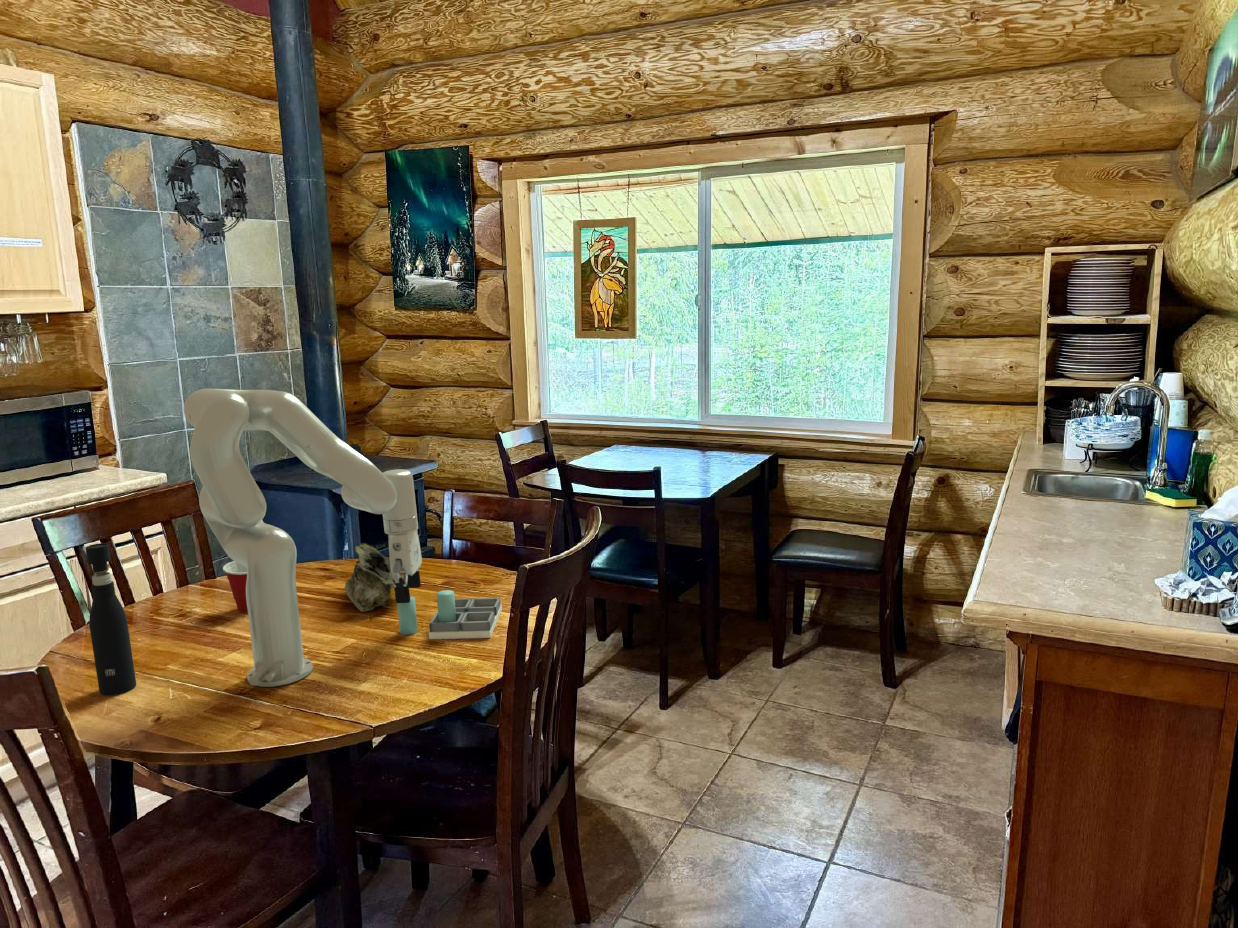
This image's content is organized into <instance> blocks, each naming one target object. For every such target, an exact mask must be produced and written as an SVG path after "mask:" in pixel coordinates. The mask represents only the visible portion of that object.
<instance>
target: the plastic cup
mask: <svg viewBox="0 0 1238 928" xmlns="http://www.w3.org/2000/svg"><path fill="white" fill-rule="evenodd" d="M222 570H223V572H224V573H225V575H226V577H227V580H228V584H229V587H230V589H231V592H232V596H233V599H234V600H235V601H234V602H235V605H236V608H237V610H238V612H239V613H244V614H245V613H247V614H248V608H247V601H246V581H247V568H246V567H245V566H243V565H241V564H239V563H237V562H235V561H234V560H232V561H230V562H227V563H226V564H225V565H223V567H222Z"/></svg>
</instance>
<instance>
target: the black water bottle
mask: <svg viewBox="0 0 1238 928" xmlns="http://www.w3.org/2000/svg"><path fill="white" fill-rule="evenodd" d="M85 555H86V562H87V564H88V565H91V567H92V573H93V574H92V575H91V576H92V577H91V580H92V581H91V582H92V585H91V592H92V598H93V599H92V602H91V606H90V610H89V620H88V621H89V622H88V623H89V624H88V626H89V633H90V639H91V645H92V653H93V659H94V665H95V671H96V678H97V686H98V690H99V691H98V692H99V694H100V695H102V696H106V697H109V696H117V695H122V694H124V693H128V692H130V691H132V690H133V689H135V687H136V686H137V680H136V673H135V666H134V659H133V652H132V651H133V650H132V644H131V639H130V630H129V624H128V617H127V615H126V612H125V610H124V607H123V605H122V604H121V602H120V600H119V598H118V596H117V595H116V588H115V584H114V581H113V580H112V579H113V578H112V574H111V572H110V571H109V568H108V562H110V561H111V553H110V545H109V543H106V542H105V543H104V542H102V543H94V544H90V545H87V546H85Z"/></svg>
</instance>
